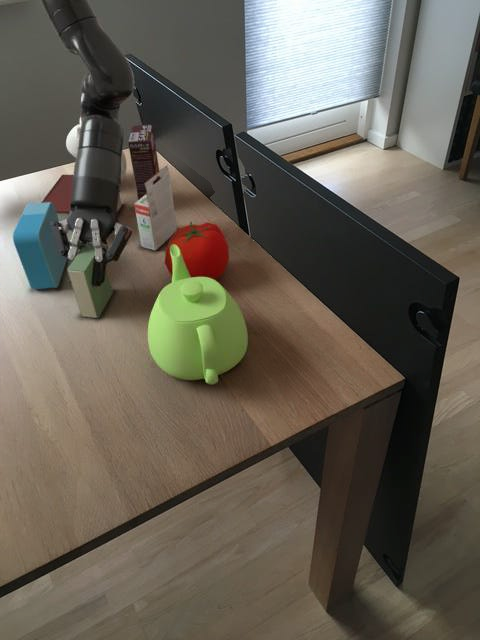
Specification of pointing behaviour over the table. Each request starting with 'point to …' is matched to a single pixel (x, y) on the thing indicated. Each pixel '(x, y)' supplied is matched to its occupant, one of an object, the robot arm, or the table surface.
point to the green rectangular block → (88, 284)
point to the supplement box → (143, 156)
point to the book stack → (66, 200)
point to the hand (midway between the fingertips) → (85, 284)
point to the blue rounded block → (39, 246)
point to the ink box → (156, 212)
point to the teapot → (195, 326)
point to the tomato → (200, 250)
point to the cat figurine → (73, 145)
